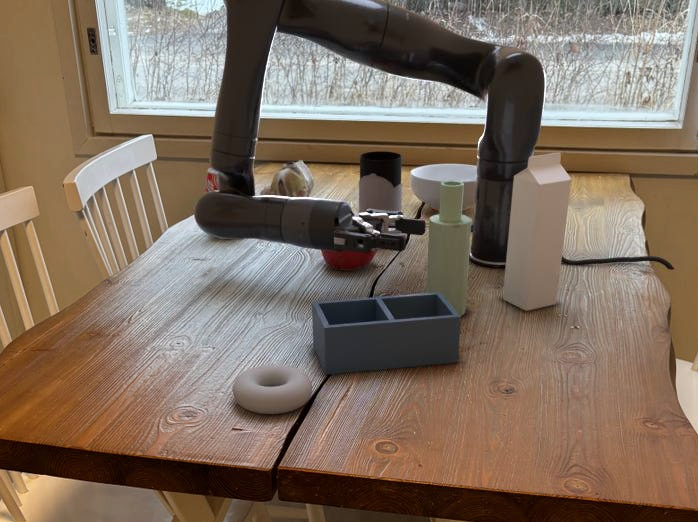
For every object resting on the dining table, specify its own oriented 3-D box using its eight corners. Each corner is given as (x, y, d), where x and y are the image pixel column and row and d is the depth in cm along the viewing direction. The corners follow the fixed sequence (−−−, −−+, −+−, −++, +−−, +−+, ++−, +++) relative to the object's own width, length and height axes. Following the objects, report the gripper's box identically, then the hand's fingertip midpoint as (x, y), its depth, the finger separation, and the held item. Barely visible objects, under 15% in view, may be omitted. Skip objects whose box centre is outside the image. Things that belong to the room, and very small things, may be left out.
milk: (556, 304, 142) (576, 156, 130) (525, 311, 140) (542, 161, 127) (531, 292, 147) (548, 148, 134) (501, 299, 144) (515, 152, 132)
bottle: (458, 302, 143) (466, 177, 132) (470, 316, 138) (479, 187, 127) (421, 305, 142) (426, 179, 131) (431, 319, 137) (437, 189, 126)
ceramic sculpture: (324, 153, 192) (300, 174, 180) (326, 194, 197) (303, 217, 186) (277, 150, 194) (250, 171, 183) (280, 191, 200) (254, 214, 188)
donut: (310, 383, 119) (233, 385, 118) (310, 358, 117) (232, 360, 116) (314, 418, 111) (232, 420, 110) (314, 392, 109) (230, 394, 108)
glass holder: (349, 244, 168) (348, 159, 160) (376, 223, 179) (377, 143, 171) (393, 249, 166) (395, 163, 157) (418, 228, 177) (421, 146, 168)
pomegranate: (389, 264, 159) (390, 209, 154) (350, 278, 153) (349, 222, 148) (348, 252, 164) (347, 199, 159) (308, 265, 158) (307, 211, 153)
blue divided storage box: (313, 346, 129) (311, 301, 125) (438, 335, 132) (440, 291, 128) (325, 374, 121) (324, 327, 117) (458, 362, 124) (461, 316, 120)
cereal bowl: (504, 203, 191) (507, 168, 188) (468, 222, 180) (471, 185, 176) (432, 192, 199) (434, 158, 195) (394, 210, 187) (395, 174, 183)
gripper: (295, 210, 133) (398, 222, 128) (335, 188, 144) (432, 198, 139) (297, 261, 138) (397, 274, 132) (336, 235, 149) (430, 247, 143)
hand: (415, 235), depth 136 cm, fingers open, 8 cm apart
